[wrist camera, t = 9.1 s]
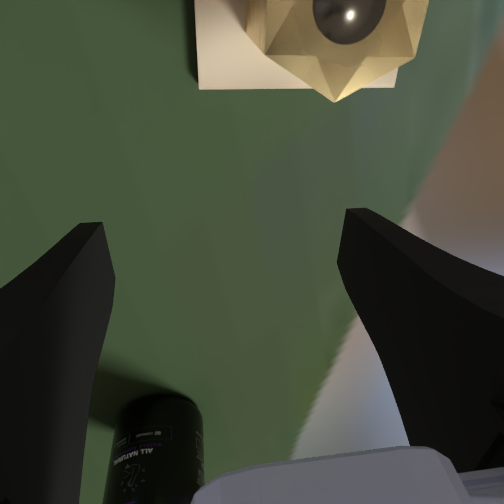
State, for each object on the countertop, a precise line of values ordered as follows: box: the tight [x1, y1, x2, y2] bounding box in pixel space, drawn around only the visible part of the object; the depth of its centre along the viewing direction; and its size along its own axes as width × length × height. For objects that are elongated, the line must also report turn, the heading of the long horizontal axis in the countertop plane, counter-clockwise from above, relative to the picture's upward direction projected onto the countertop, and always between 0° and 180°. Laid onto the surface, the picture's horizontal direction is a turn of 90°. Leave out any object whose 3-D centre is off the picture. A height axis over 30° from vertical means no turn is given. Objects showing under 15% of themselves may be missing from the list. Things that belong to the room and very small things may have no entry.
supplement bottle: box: [102, 395, 204, 504], centre depth 28 cm, size 7×7×12 cm
